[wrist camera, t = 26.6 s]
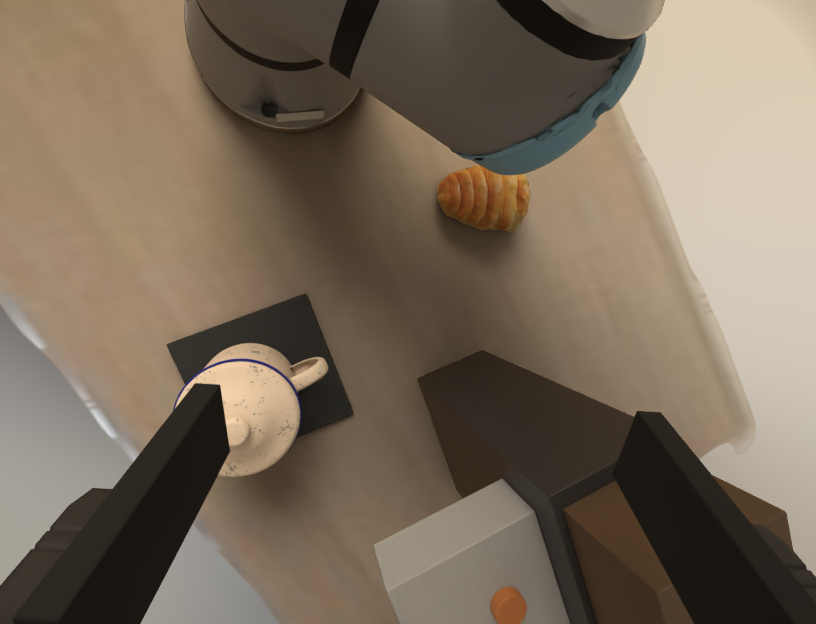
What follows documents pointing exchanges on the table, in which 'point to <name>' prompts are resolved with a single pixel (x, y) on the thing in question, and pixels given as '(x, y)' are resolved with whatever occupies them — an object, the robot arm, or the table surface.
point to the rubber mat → (288, 334)
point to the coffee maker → (532, 511)
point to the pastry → (485, 198)
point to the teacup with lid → (258, 402)
